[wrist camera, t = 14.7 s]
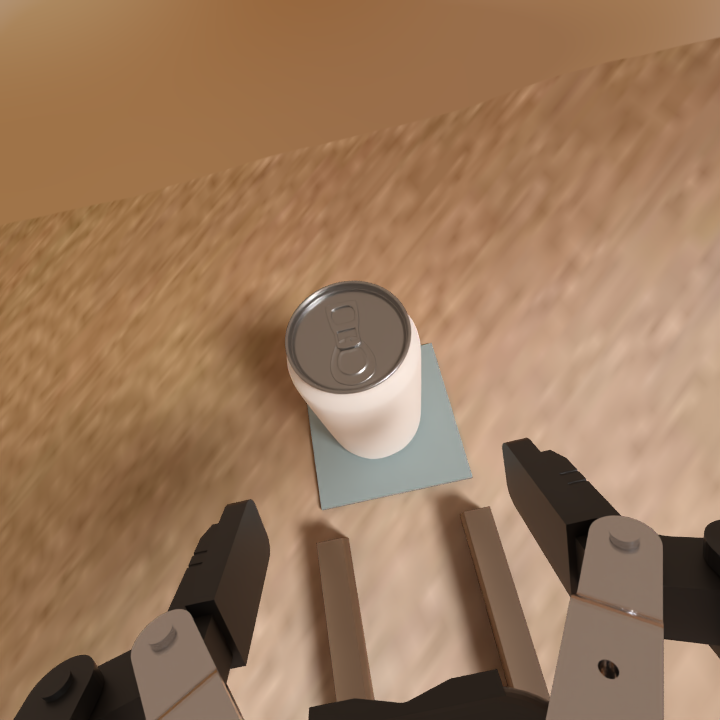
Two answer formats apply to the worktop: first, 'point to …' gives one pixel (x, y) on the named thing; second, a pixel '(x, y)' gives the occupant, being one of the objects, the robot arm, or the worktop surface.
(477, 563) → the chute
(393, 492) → the pad
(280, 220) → the worktop surface
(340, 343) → the can
